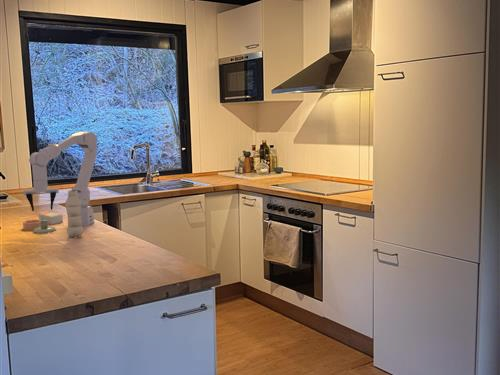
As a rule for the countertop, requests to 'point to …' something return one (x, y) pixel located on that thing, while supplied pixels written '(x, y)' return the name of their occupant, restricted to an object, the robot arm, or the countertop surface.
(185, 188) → the countertop surface
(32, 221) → the bowl
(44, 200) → the countertop surface
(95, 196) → the countertop surface
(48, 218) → the skincare box
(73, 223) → the plastic bottle
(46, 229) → the lid
